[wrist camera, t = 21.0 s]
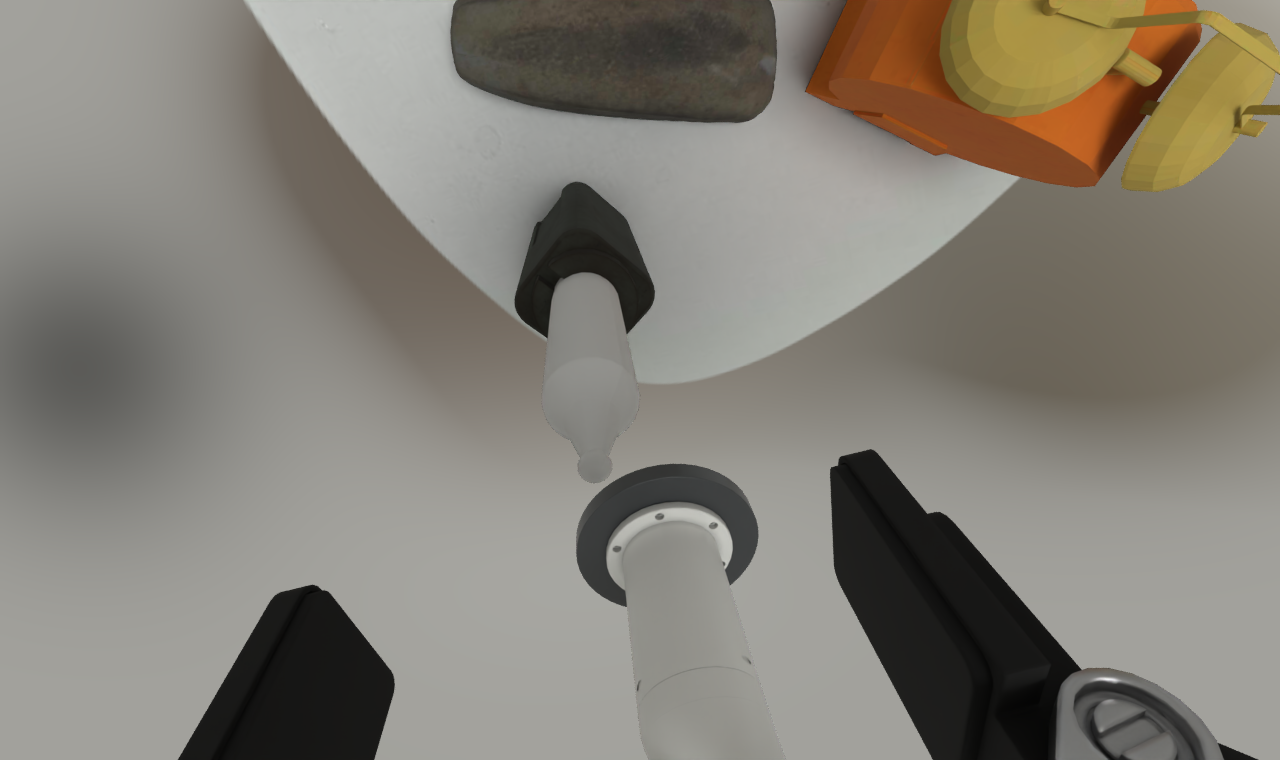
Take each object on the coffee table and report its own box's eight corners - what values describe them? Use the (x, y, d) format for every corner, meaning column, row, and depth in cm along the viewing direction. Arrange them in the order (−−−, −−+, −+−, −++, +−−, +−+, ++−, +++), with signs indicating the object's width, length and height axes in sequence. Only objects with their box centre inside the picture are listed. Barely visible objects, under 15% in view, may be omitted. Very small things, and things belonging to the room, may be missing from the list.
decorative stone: (771, -6, 29) (799, -19, 26) (756, 123, 32) (779, 127, 29) (453, -24, 27) (435, -41, 24) (468, 115, 31) (454, 118, 27)
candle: (574, 173, 33) (576, 340, 11) (636, 227, 35) (743, 459, 13) (526, 237, 34) (442, 495, 12) (587, 285, 36) (609, 580, 14)
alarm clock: (1012, 68, 33) (1520, 41, 15) (951, 168, 35) (1326, 245, 18) (833, -36, 29) (1224, -225, 12) (780, 84, 32) (1036, 76, 14)
